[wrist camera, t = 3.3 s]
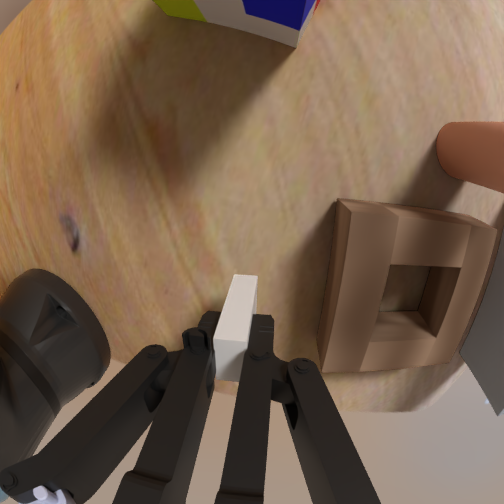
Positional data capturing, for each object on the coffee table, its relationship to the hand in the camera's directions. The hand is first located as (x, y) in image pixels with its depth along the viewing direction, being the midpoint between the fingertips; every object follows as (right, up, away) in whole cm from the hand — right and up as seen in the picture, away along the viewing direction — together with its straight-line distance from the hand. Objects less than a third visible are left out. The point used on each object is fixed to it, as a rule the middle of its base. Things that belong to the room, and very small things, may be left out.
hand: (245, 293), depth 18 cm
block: (+12, 0, +2) cm, 12 cm away
